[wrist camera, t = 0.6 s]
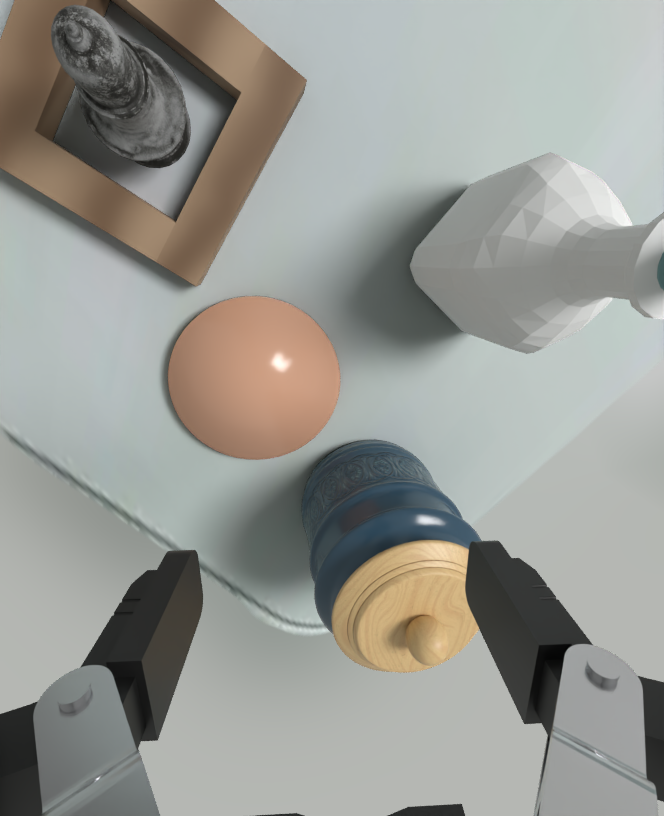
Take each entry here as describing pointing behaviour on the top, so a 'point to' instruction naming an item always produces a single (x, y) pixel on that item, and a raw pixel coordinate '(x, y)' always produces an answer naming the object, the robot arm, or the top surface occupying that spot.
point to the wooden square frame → (101, 196)
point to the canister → (387, 558)
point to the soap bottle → (539, 255)
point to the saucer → (254, 377)
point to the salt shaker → (122, 89)
